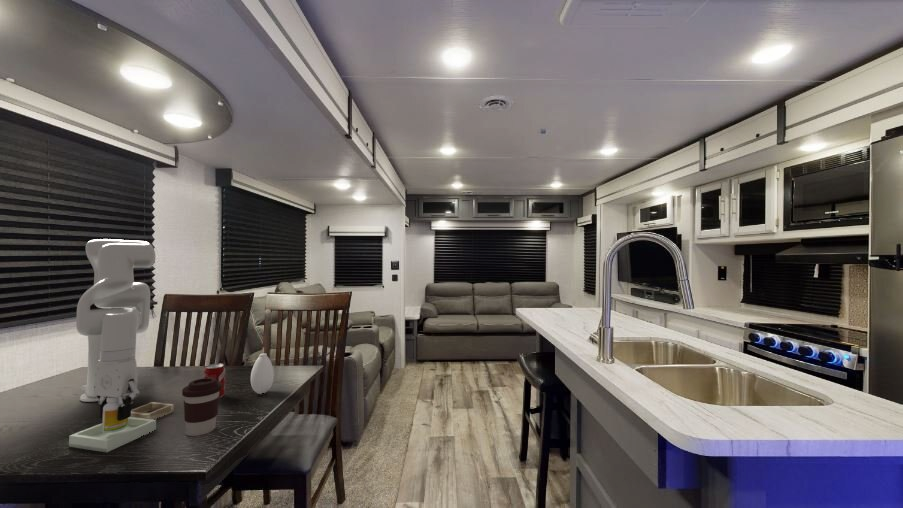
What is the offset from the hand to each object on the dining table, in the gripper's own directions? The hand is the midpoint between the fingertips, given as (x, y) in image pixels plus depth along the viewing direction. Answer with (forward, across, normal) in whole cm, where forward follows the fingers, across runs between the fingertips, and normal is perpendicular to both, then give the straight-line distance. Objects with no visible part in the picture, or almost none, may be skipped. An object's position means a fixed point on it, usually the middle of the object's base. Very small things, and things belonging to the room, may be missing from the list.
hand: (115, 417), depth 102 cm
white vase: (+6, +16, +40) cm, 43 cm away
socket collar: (+6, -5, +14) cm, 16 cm away
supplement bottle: (+4, 0, 0) cm, 4 cm away
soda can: (+6, +2, +32) cm, 33 cm away
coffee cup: (+6, +20, +9) cm, 23 cm away
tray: (+6, 0, 0) cm, 6 cm away
